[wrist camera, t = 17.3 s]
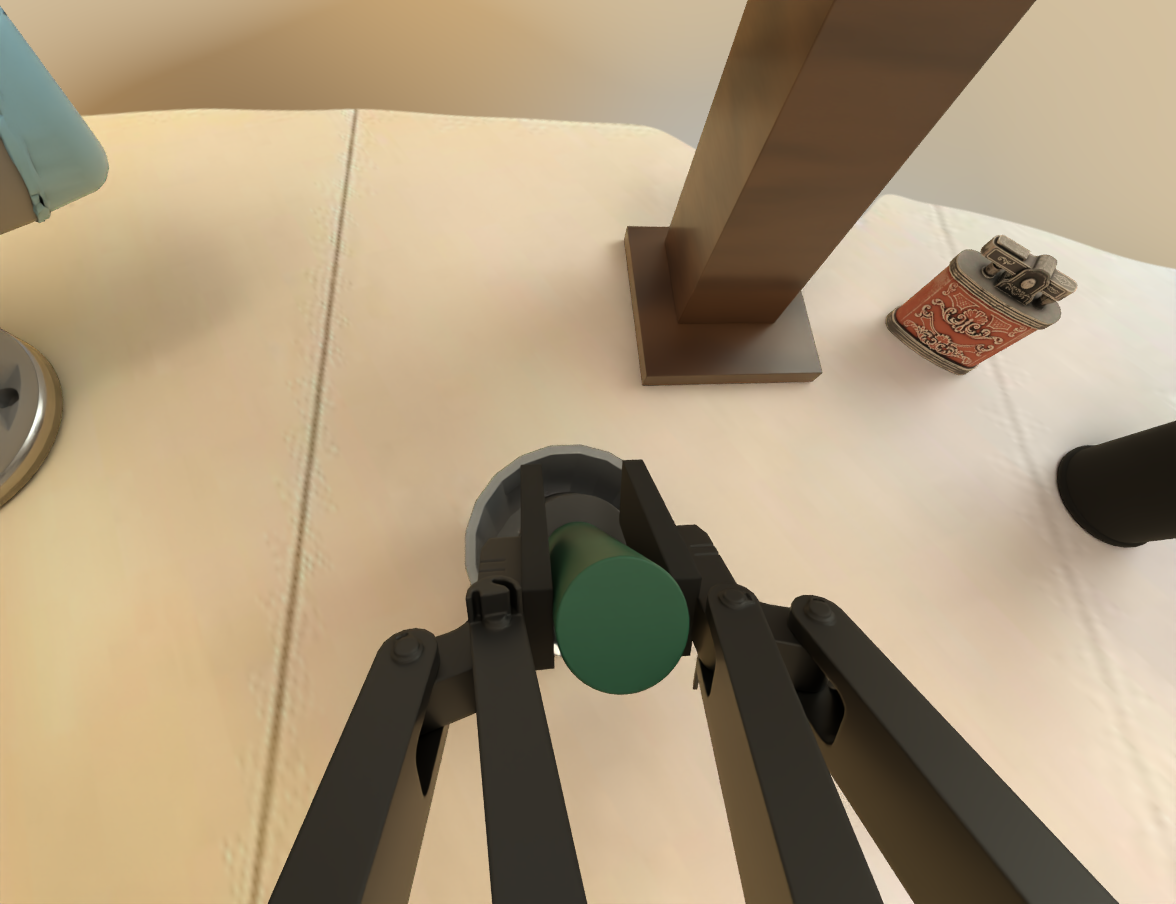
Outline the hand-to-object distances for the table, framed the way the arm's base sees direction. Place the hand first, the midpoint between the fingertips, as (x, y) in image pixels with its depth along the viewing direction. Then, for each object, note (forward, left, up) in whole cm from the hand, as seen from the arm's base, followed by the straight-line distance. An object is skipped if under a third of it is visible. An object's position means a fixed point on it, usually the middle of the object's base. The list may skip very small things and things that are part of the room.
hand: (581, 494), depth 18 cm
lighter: (+17, +32, -15) cm, 39 cm away
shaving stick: (+3, -4, -2) cm, 6 cm away
